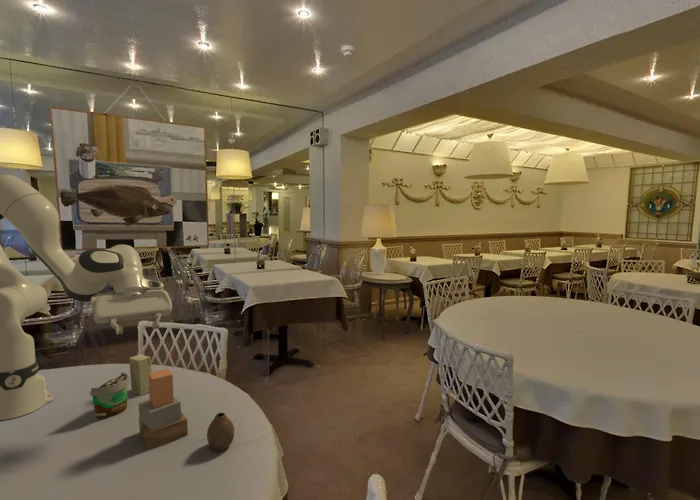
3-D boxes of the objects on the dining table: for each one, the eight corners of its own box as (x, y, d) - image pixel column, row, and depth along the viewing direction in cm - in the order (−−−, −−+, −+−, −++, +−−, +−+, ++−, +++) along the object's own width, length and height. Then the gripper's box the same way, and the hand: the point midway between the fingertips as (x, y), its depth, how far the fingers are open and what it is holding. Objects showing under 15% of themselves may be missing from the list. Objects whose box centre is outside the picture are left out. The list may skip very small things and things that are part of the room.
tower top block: (139, 420, 105) (138, 402, 105) (169, 409, 111) (168, 392, 111) (150, 431, 100) (149, 413, 99) (181, 419, 106) (180, 402, 105)
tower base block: (139, 433, 107) (138, 416, 107) (177, 421, 114) (176, 405, 113) (148, 450, 100) (147, 432, 99) (187, 436, 106) (187, 419, 106)
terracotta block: (149, 400, 106) (148, 373, 105) (168, 395, 109) (167, 368, 108) (153, 407, 102) (152, 379, 101) (173, 402, 105) (172, 374, 104)
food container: (109, 423, 112) (107, 390, 111) (91, 420, 113) (89, 388, 112) (140, 402, 124) (138, 373, 123) (124, 400, 125) (122, 371, 124)
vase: (219, 457, 97) (218, 424, 96) (201, 448, 100) (200, 416, 99) (240, 443, 102) (239, 412, 102) (223, 435, 106) (222, 405, 105)
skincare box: (153, 391, 132) (151, 357, 131) (140, 396, 128) (138, 361, 127) (143, 386, 135) (141, 353, 134) (130, 391, 132) (128, 357, 131)
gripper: (90, 288, 107) (96, 330, 101) (168, 282, 121) (177, 319, 114) (88, 300, 111) (94, 342, 104) (164, 293, 124) (173, 330, 118)
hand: (138, 330), depth 109 cm, fingers open, 8 cm apart
